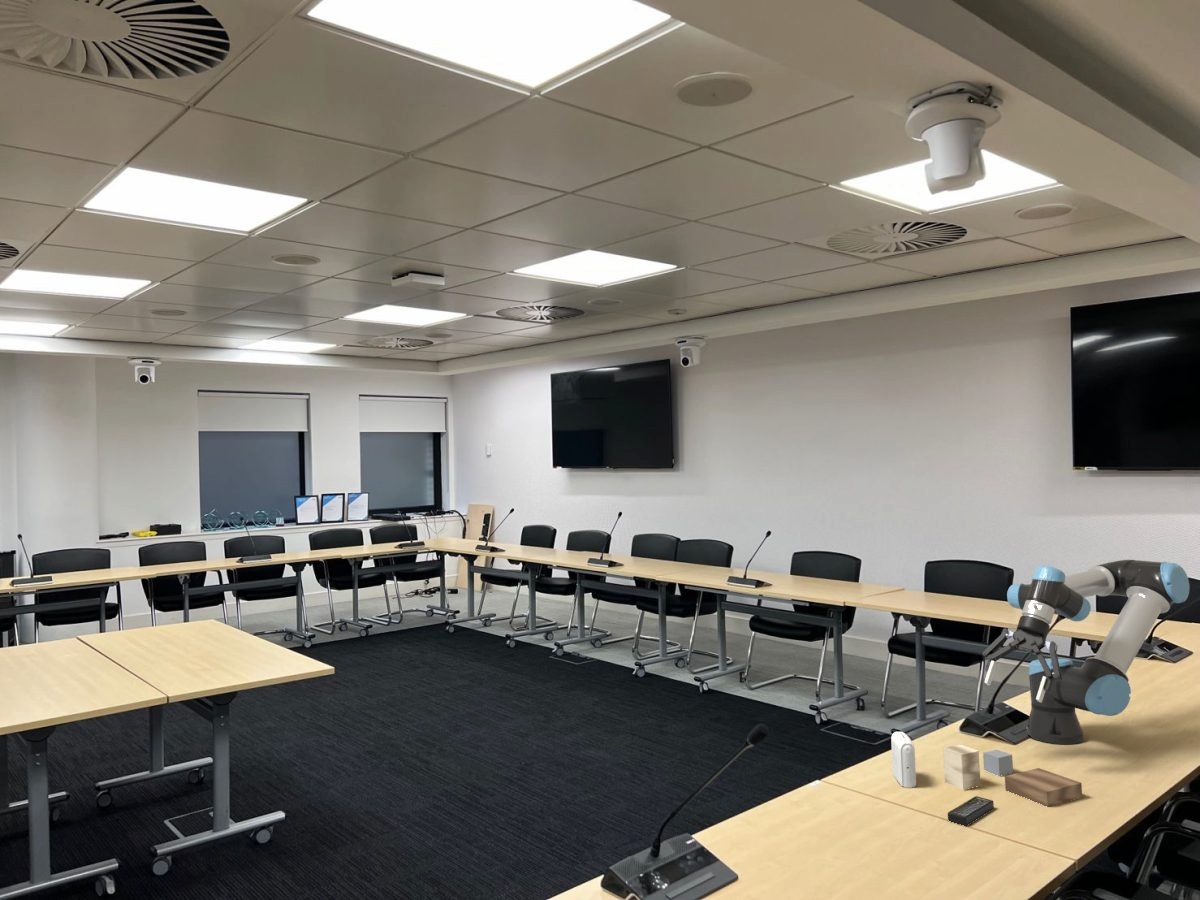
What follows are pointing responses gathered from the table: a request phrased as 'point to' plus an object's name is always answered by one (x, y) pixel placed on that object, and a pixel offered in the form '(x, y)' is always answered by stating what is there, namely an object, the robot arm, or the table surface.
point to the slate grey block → (998, 762)
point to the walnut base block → (1043, 787)
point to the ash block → (961, 766)
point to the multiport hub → (970, 810)
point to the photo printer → (903, 759)
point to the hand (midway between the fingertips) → (1012, 692)
